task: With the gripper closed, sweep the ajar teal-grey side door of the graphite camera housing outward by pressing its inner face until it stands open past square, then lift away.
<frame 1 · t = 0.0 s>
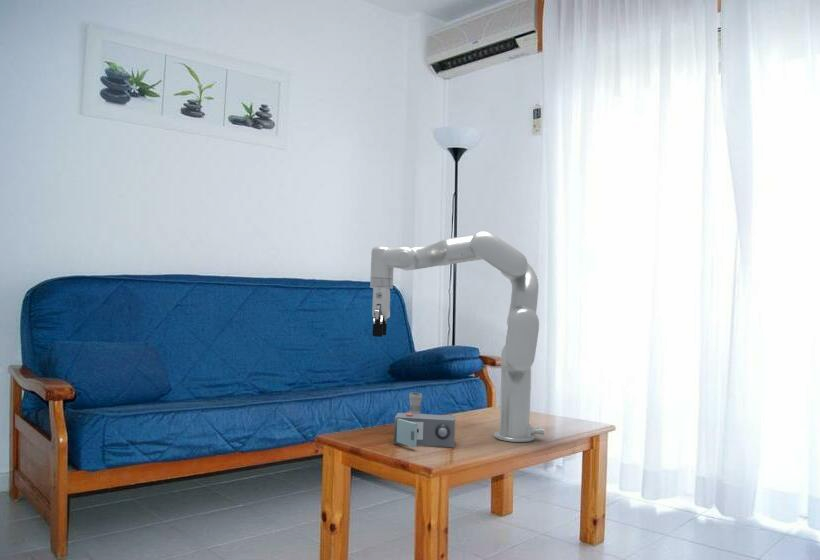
hand: (379, 335, 213), 31 cm above the table, fingers open, 9 cm apart
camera: (422, 431, 216), on the table
side door: (405, 432, 189), point 4 cm above the table, hinge at 45.0°
housing: (424, 442, 197), on the table
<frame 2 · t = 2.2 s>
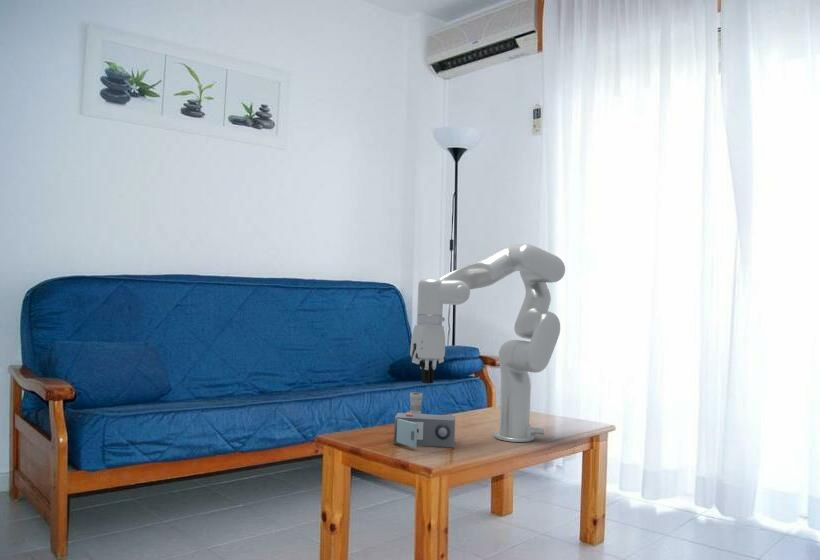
hand: (427, 382, 191), 19 cm above the table, fingers closed
nothing on the table moved.
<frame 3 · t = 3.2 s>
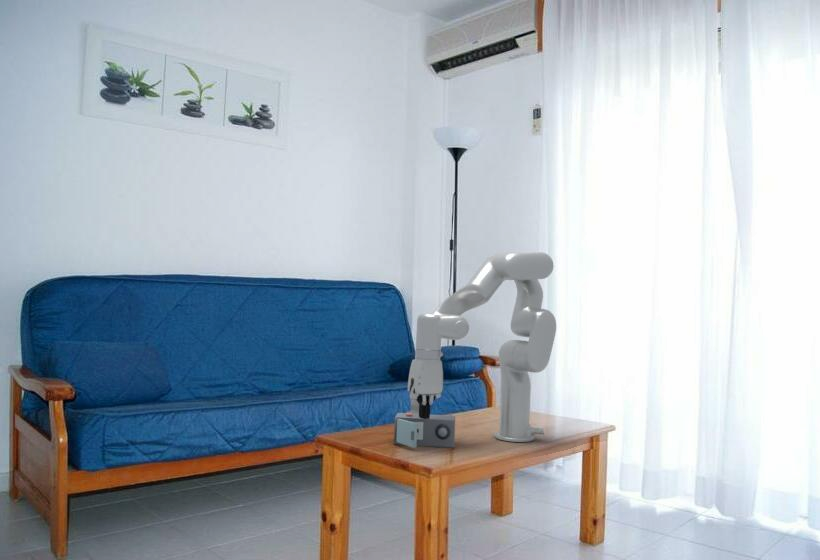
hand: (424, 417, 190), 9 cm above the table, fingers closed
nothing on the table moved.
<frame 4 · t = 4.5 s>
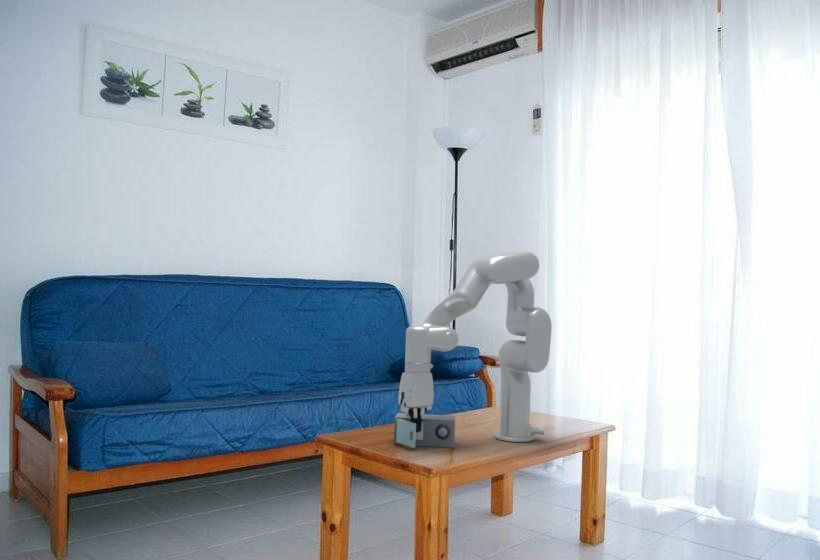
hand: (415, 430, 189), 5 cm above the table, fingers closed
side door: (405, 433, 189), point 4 cm above the table, hinge at 47.7°, touching gripper
everything else where it was.
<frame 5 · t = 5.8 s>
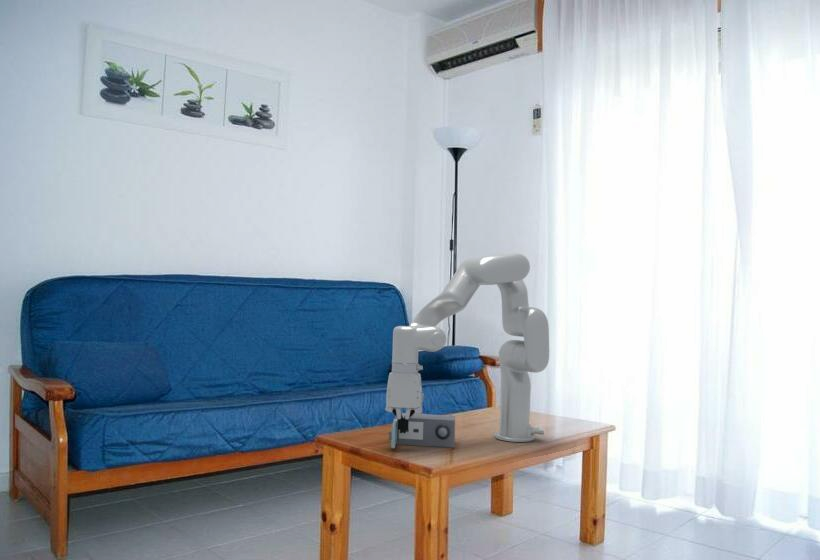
hand: (403, 432, 186), 5 cm above the table, fingers closed
side door: (393, 433, 188), point 4 cm above the table, hinge at 88.7°, touching gripper
everything else where it was.
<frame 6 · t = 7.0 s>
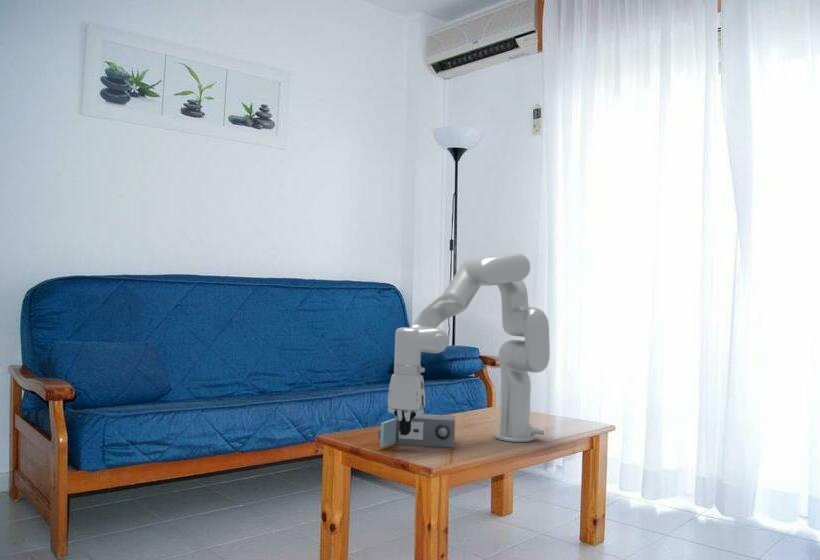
hand: (404, 434, 186), 5 cm above the table, fingers closed
side door: (387, 432, 189), point 4 cm above the table, hinge at 110.2°
everything else where it was.
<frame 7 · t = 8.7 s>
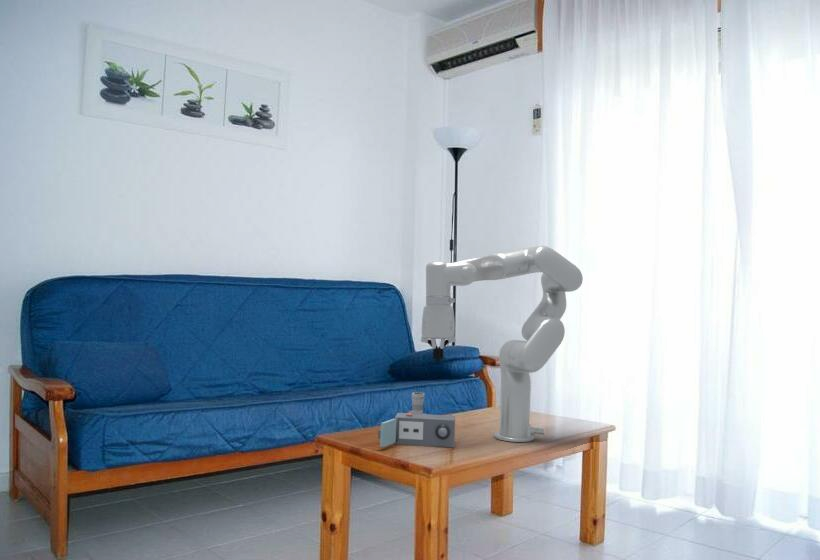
hand: (438, 361, 199), 25 cm above the table, fingers closed
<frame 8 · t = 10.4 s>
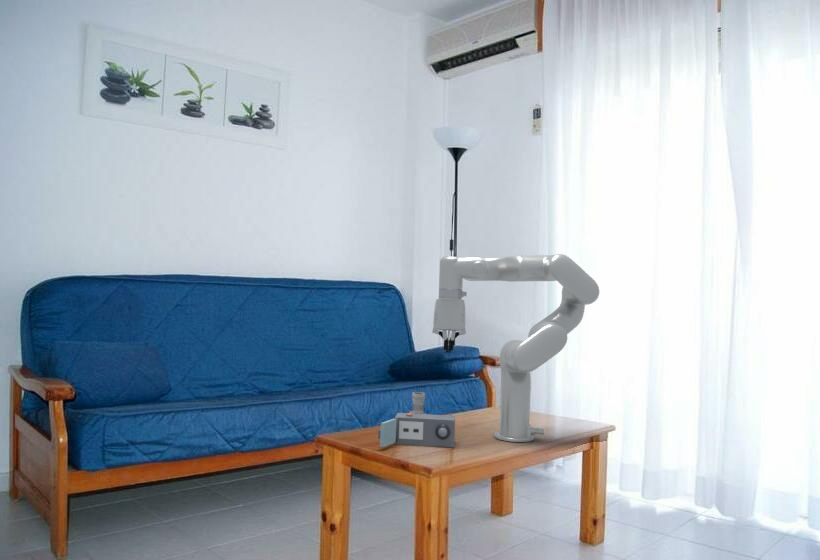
hand: (448, 352, 206), 27 cm above the table, fingers closed
at the end: side door at +110° (first picture: +45°) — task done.
